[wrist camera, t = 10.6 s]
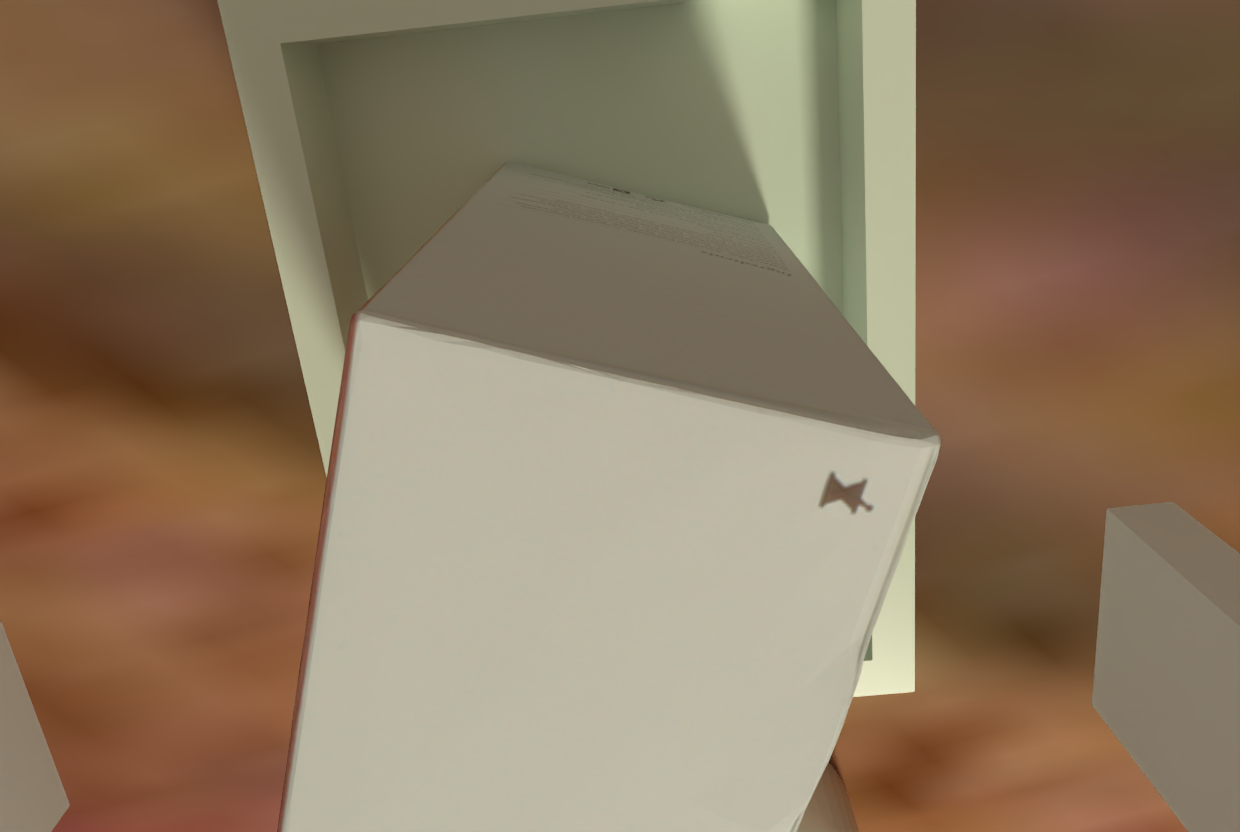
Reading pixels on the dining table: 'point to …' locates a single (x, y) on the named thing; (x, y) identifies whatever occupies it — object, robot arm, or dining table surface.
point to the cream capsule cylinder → (829, 806)
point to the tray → (589, 152)
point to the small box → (596, 527)
